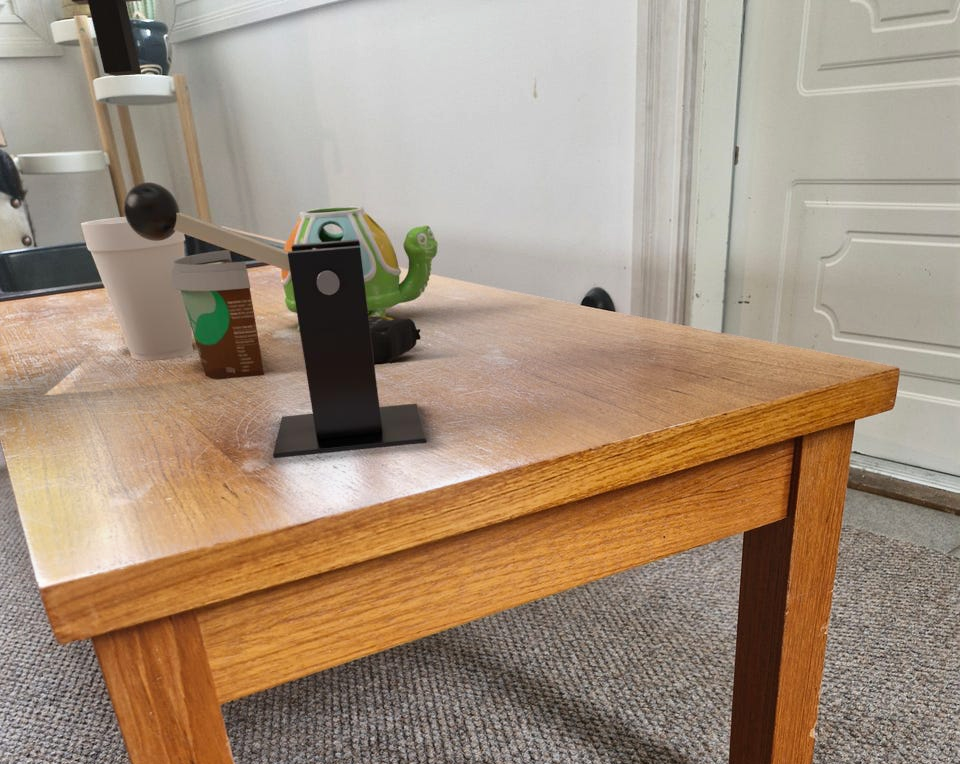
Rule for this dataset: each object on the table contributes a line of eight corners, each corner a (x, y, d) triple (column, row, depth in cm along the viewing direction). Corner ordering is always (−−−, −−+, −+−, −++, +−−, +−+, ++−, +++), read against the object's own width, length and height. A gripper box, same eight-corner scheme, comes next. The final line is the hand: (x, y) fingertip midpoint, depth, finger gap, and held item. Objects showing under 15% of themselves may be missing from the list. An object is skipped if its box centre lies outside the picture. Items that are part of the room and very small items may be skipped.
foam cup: (97, 364, 92) (60, 226, 86) (147, 344, 100) (116, 216, 94) (179, 363, 90) (147, 221, 84) (223, 343, 98) (197, 212, 91)
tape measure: (391, 372, 81) (386, 329, 79) (325, 370, 83) (319, 328, 81) (422, 355, 86) (419, 314, 84) (359, 353, 89) (354, 313, 87)
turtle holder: (449, 322, 100) (440, 204, 94) (285, 337, 98) (265, 218, 92) (438, 304, 111) (429, 197, 105) (290, 318, 109) (273, 209, 103)
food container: (186, 364, 90) (162, 256, 85) (248, 355, 91) (228, 249, 86) (198, 391, 79) (171, 270, 74) (267, 380, 81) (246, 261, 76)
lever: (114, 231, 53) (124, 174, 52) (126, 227, 56) (135, 173, 55) (343, 312, 57) (357, 261, 56) (343, 304, 60) (357, 255, 59)
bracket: (275, 471, 59) (237, 261, 52) (284, 432, 66) (251, 245, 60) (427, 455, 59) (407, 246, 53) (418, 418, 67) (400, 232, 61)
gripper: (-224, -625, 35) (-19, 78, 47) (113, -629, 36) (232, 60, 48) (-135, -506, 42) (26, 85, 54) (148, -512, 43) (246, 69, 55)
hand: (123, 73), depth 51 cm, fingers closed
